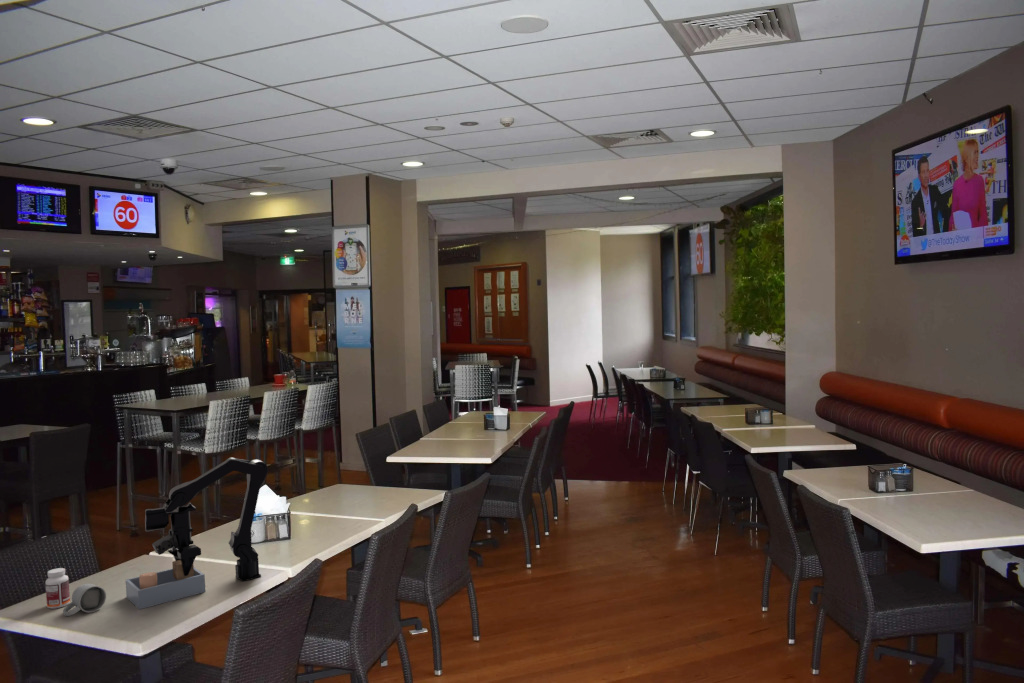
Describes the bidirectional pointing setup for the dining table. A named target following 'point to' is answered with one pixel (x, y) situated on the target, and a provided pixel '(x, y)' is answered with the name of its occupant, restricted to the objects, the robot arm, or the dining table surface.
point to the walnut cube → (181, 571)
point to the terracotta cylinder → (148, 580)
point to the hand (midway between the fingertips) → (183, 573)
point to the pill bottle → (57, 589)
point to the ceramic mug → (86, 599)
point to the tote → (164, 589)
